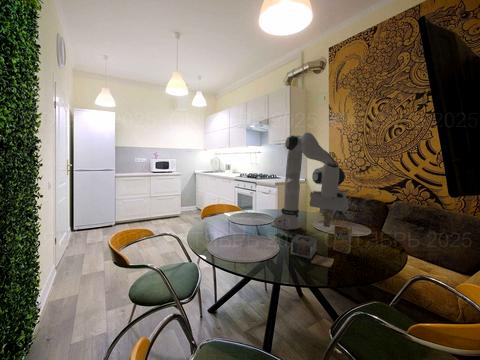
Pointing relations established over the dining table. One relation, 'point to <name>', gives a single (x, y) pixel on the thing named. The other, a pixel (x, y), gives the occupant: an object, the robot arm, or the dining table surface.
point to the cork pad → (322, 261)
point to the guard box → (297, 241)
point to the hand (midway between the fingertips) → (327, 216)
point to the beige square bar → (327, 218)
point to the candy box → (342, 238)
